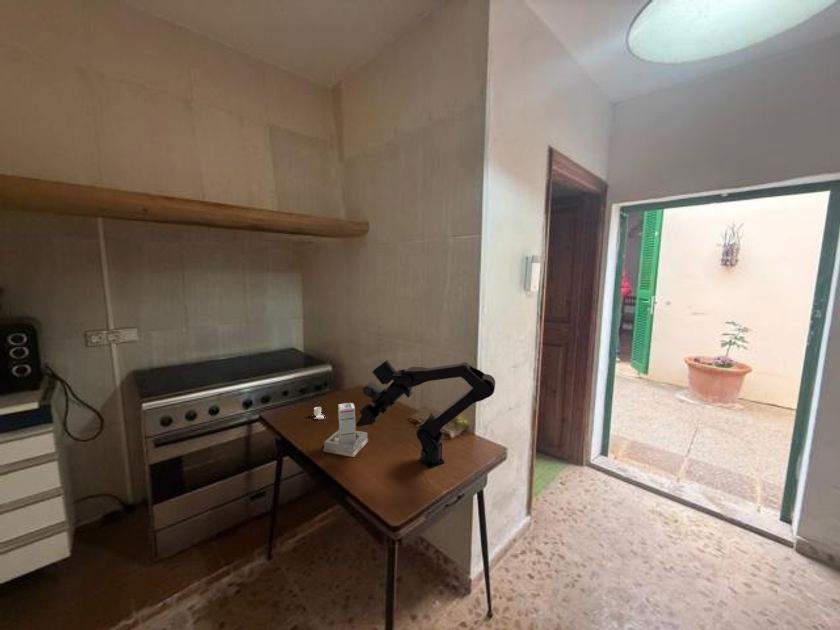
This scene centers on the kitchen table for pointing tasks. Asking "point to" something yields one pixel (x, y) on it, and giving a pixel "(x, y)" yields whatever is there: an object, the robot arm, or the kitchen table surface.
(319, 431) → the kitchen table surface
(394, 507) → the kitchen table surface
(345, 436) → the syrup box
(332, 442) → the white square tray
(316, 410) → the white ring and cylinder
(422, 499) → the kitchen table surface
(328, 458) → the kitchen table surface
